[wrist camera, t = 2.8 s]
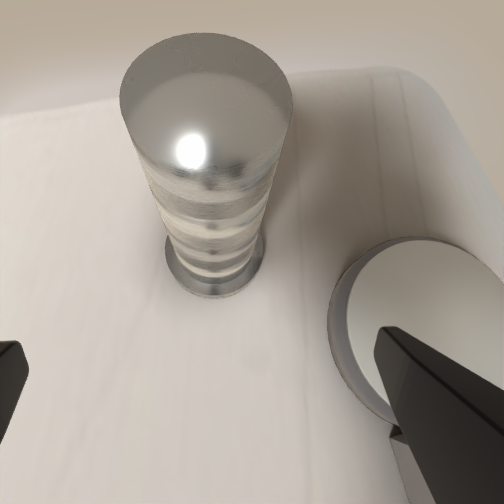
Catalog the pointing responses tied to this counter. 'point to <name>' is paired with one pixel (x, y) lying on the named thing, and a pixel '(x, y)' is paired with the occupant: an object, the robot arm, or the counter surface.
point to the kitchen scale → (416, 323)
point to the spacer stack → (208, 151)
